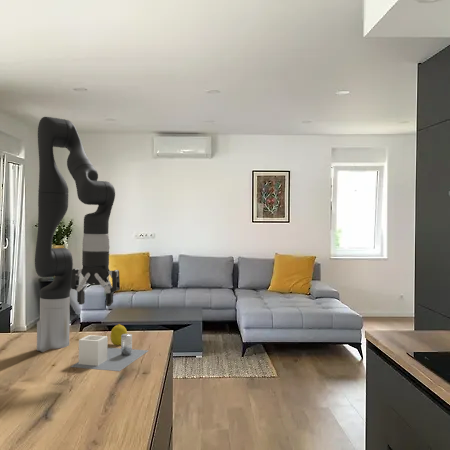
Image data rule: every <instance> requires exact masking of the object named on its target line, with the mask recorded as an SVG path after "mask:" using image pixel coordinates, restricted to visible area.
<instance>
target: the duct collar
mask: <svg viewBox="0 0 450 450" xmlns="http://www.w3.org/2000/svg"><path fill="white" fill-rule="evenodd" d="M108 341H109V340H108V336H106V335H97V334H96V335H94V334H89V335H86V336H83V337H81V338H80V339H78V362H79V364H84V365H95V366H98V365H100V364H102V363H103V362H105V361H106V360H107V347H109V346H108Z"/></svg>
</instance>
